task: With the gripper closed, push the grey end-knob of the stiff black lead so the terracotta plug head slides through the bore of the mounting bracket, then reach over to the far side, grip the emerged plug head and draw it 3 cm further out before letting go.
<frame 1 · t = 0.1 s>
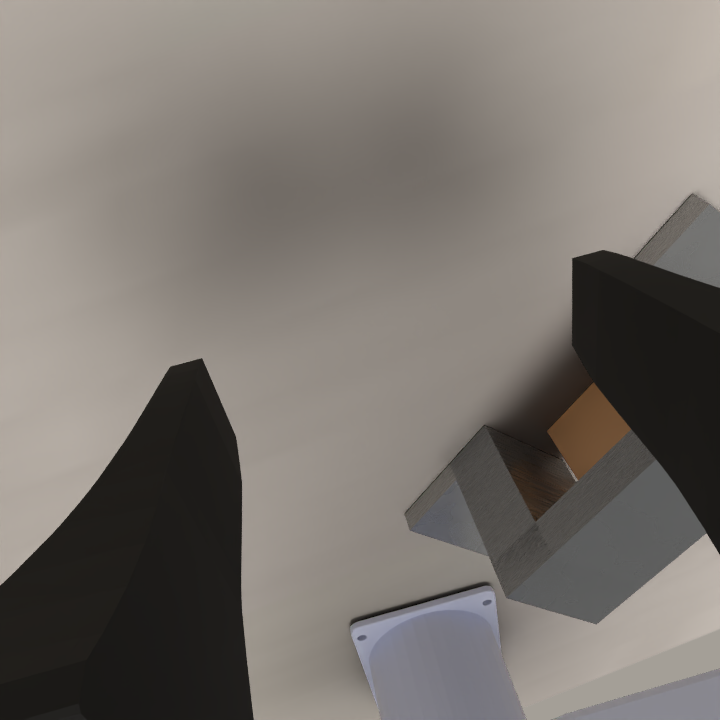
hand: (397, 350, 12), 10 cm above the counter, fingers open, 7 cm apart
plug: (606, 414, 29), on the counter
mounting bracket: (569, 395, 28), on the counter
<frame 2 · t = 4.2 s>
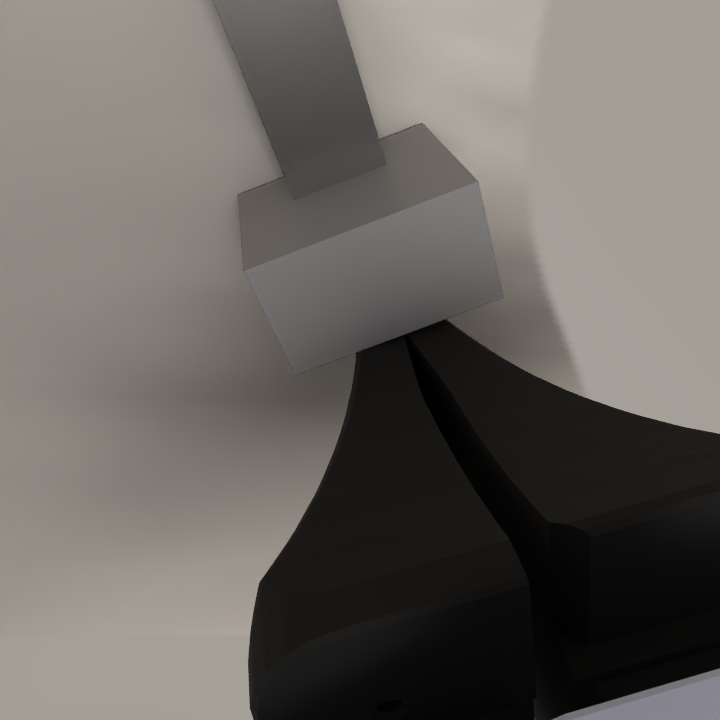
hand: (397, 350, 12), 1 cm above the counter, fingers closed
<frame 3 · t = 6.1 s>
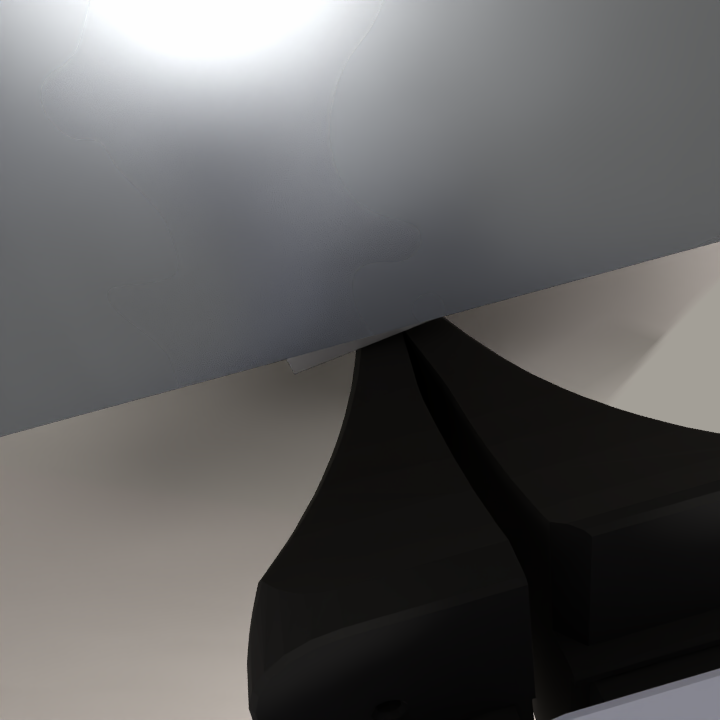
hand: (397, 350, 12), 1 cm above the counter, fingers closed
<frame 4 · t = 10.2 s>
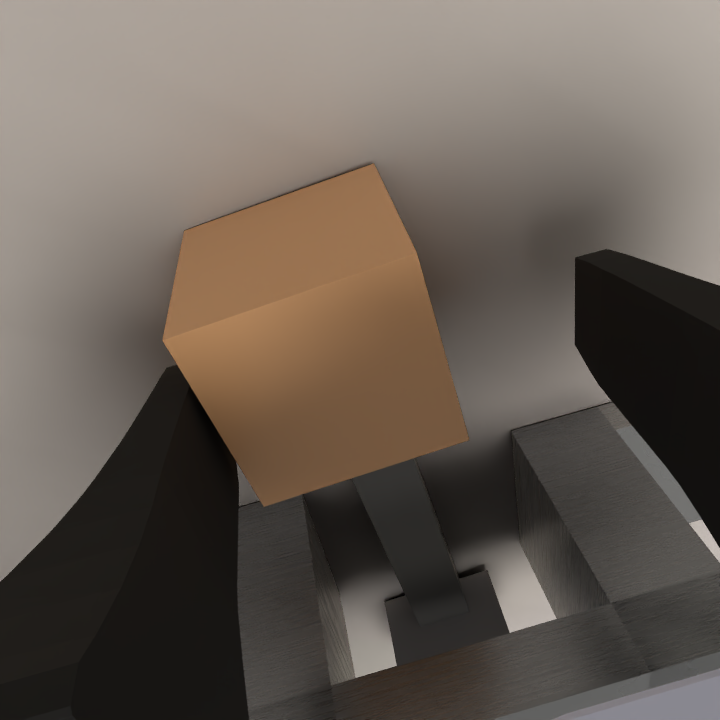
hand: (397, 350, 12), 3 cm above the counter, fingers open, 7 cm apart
plug: (312, 281, 14), on the counter
mounting bracket: (419, 518, 19), on the counter
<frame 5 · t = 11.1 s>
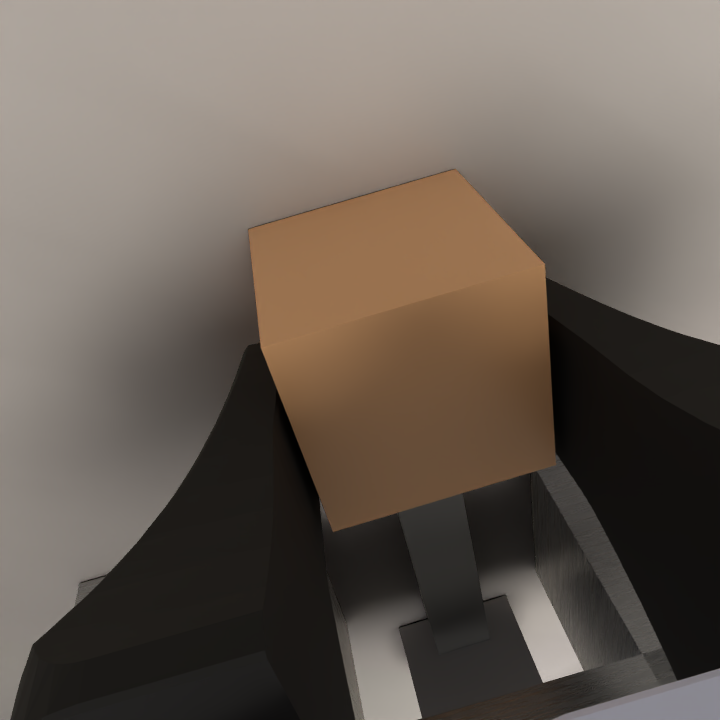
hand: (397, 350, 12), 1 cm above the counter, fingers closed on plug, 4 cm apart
plug: (374, 289, 13), on the counter, touching gripper
mounting bracket: (431, 547, 18), on the counter
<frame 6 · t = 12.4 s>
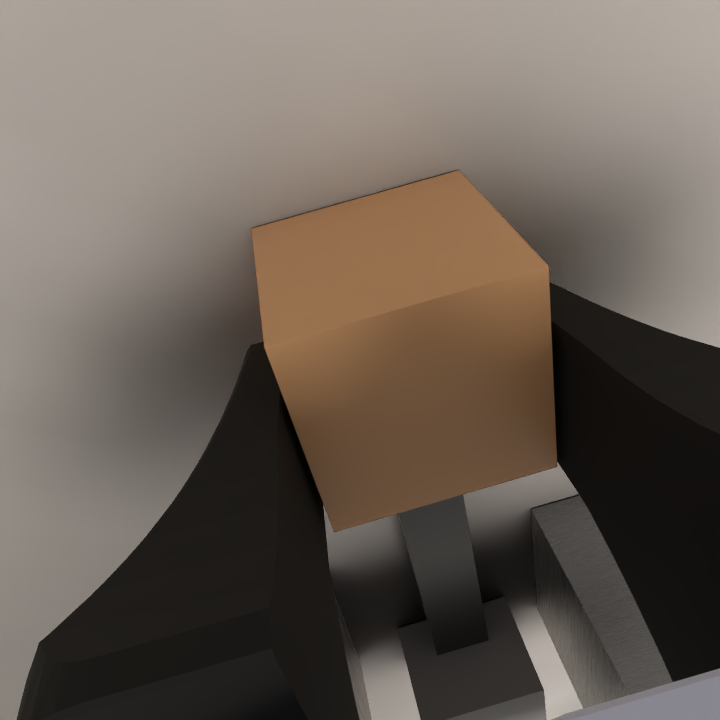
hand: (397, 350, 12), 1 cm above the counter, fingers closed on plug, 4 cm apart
plug: (376, 290, 13), on the counter, touching gripper
mounting bracket: (439, 589, 19), on the counter
when the fingers open (1 cm above the counter, at t = 13.4 s): plug stays where it is, on the counter.
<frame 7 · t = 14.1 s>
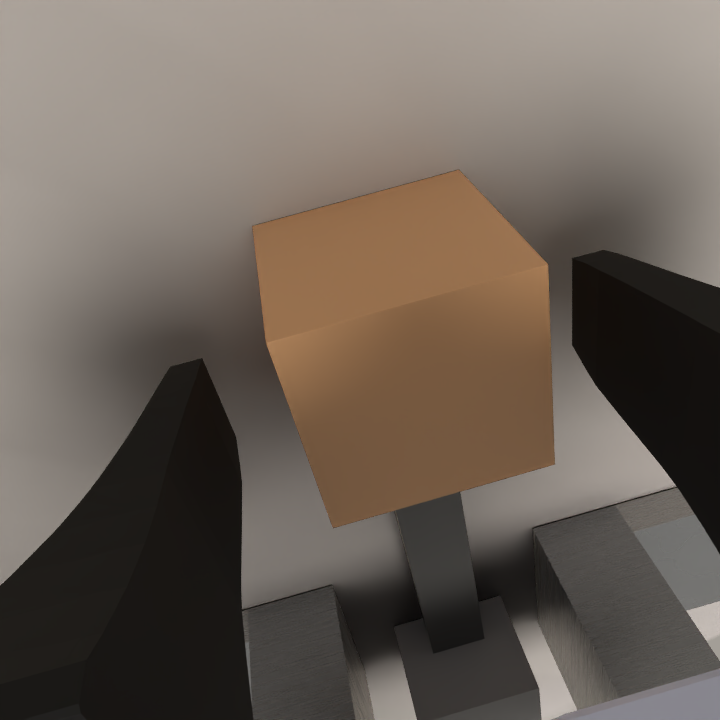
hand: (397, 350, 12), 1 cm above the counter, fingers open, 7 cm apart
plug: (376, 288, 13), on the counter
mounting bracket: (443, 605, 20), on the counter
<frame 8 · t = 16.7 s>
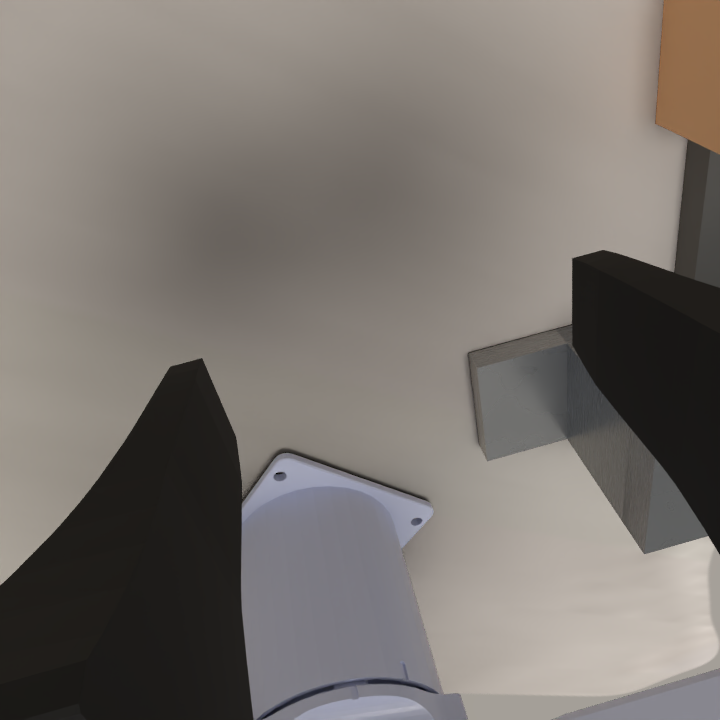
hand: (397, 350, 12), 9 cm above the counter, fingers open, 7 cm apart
mounting bracket: (683, 343, 26), on the counter
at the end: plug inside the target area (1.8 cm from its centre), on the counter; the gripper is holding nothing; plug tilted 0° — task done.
